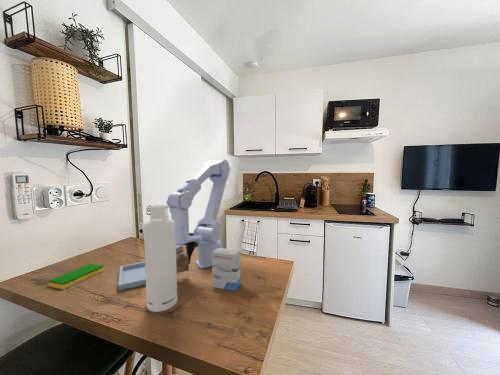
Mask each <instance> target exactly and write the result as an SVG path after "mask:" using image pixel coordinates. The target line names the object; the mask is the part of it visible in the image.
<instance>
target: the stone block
mask: <svg viewBox="0 0 500 375" xmlns="http://www.w3.org/2000/svg"><path fill="white" fill-rule="evenodd" d="M183 249H184V244H181V245H176V254H180V253H181V252H182V251H183Z"/></svg>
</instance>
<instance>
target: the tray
mask: <svg viewBox="0 0 500 375" xmlns="http://www.w3.org/2000/svg"><path fill="white" fill-rule="evenodd" d="M118 276H119V277H118V282H117V290H118V292H122V291H127V290H131V289H135V288H139V287H144V286H146V270H145V261H140V262H135V263H131V264H125V265H121V266H120V267H119V275H118Z"/></svg>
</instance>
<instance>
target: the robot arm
mask: <svg viewBox="0 0 500 375" xmlns="http://www.w3.org/2000/svg"><path fill="white" fill-rule="evenodd" d="M230 170H231V167H230V164H229V162H228V160H227V159H213V160H212V159H211V160H210V159H209V160H207V159H206V161H205V162H204V163H203V165H202V168H201V169H200V171H199V172H198V173H197V174H196V175H195V177H194V178H187V179H186V180H185V183H184V184H182V185H181V186H180V187H178V188H177V191H172V192H171V193H170V194H169V195H168V197H167V200H166V205H168V209H169V213H170V218H171V219H172V220H174V222H175V234H176V245H181V244H183V245H185V250H186V251H185V253H186V254H187V255H188V259H189V265H190V264H191V258H192V256H193V252H194V250H195V249H196V245H197V246H198V247H197V248H198V249H197V253H198V259H196V260H195V263H196V264H197V266H198V267H199V269H205V268H210V267H211V268H212V253H211V252H213V251H214V250H216V249H217V248H223V244H222V242H221V240H220V238H221V227H222V225H221V224H220V223H219V222H218V215H219V211H220V209H221V208H220V207H221V204H222V199H223V195H224V191H225V188H226V185H227V181H228V179H229V175H230ZM207 179H209V180H210V181H211V182H212V183H213V184H212V187H211V191H210V194H209V198H208V202H207V205H206V210H205V212H204V216H203V217H202V218H201V219H200V220H199V221H198V222H197V224H196V226H195V227H194V230H193V235H190V219H189V218H190V217H189V214H190V213H189V208H191V207H192V204H193V200H194V198H195V196H197V194H198V193H199V192H200V191H201V189H202V184H203V183H204V182H205V181H206V180H207ZM196 243H197V244H196Z"/></svg>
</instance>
